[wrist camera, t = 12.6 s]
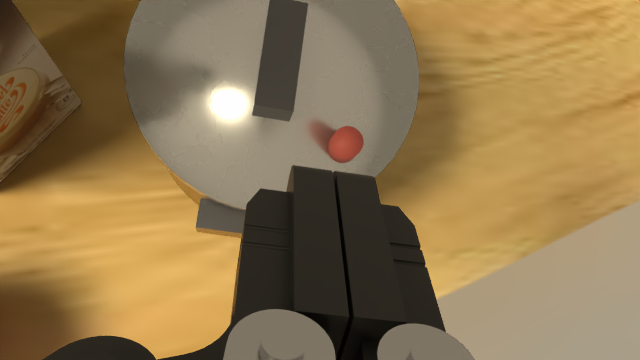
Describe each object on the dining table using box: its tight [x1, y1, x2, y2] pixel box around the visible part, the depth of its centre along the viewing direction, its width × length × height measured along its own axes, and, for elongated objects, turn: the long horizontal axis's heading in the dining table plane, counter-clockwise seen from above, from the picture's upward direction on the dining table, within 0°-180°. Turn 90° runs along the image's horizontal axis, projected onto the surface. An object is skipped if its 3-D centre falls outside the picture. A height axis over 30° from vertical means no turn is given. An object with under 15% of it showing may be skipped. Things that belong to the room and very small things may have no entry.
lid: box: [124, 0, 419, 211], centre depth 30 cm, size 16×16×3 cm
